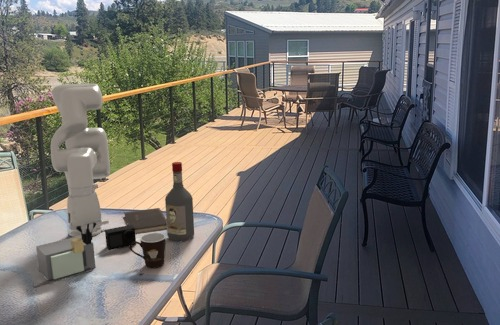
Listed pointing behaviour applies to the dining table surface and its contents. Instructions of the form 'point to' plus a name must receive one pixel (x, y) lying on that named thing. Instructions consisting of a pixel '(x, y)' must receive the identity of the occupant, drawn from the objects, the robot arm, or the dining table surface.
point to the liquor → (179, 208)
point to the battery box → (58, 248)
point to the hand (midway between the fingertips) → (87, 243)
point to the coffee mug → (152, 249)
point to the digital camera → (120, 237)
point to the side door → (68, 260)
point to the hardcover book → (146, 220)
